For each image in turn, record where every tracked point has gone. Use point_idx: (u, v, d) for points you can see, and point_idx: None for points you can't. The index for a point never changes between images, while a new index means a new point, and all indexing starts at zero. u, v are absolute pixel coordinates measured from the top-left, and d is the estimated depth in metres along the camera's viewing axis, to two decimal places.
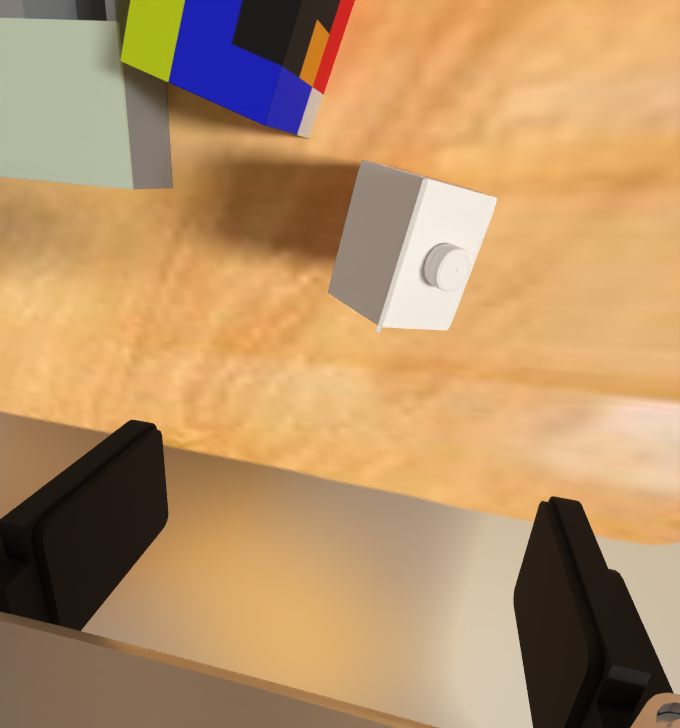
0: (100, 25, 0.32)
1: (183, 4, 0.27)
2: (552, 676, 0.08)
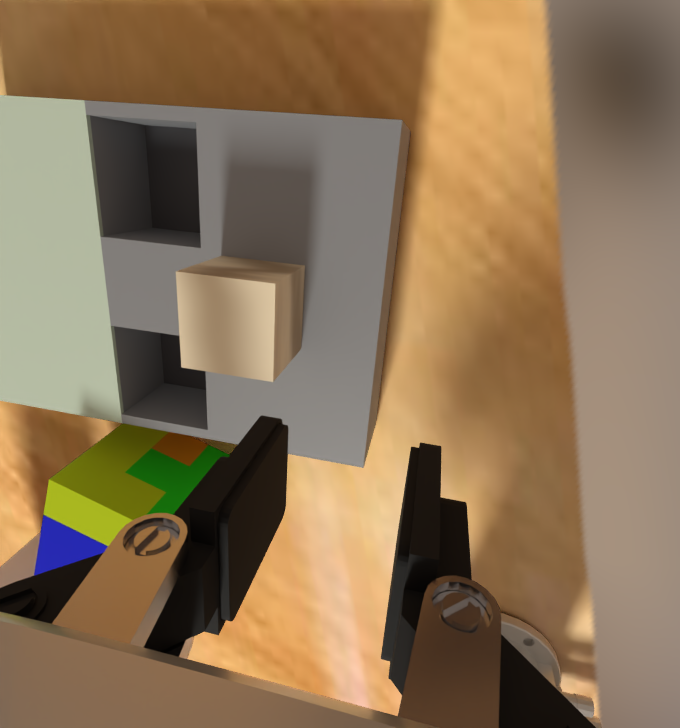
0: (116, 406, 0.33)
1: (97, 540, 0.32)
2: (392, 581, 0.10)
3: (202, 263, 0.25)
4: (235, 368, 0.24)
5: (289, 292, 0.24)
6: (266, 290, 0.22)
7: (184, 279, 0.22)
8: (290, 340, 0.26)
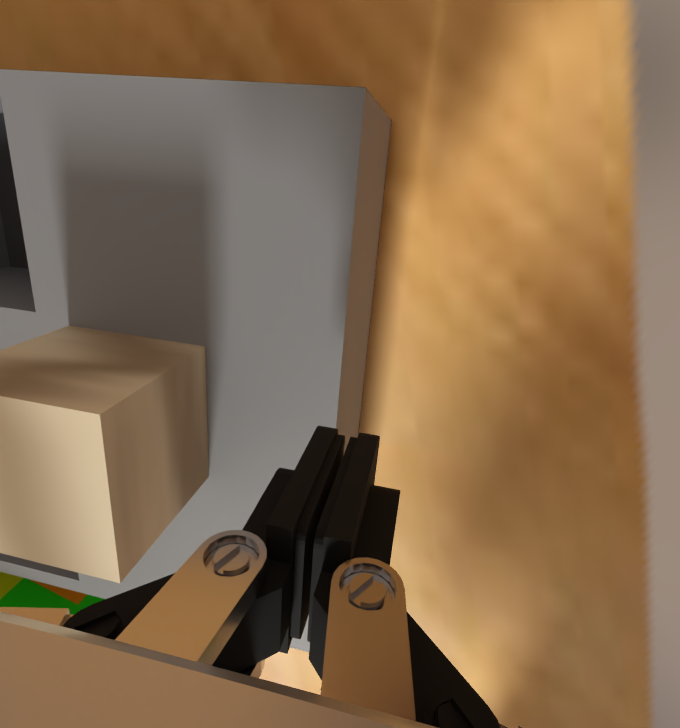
0: None
1: None
2: None
3: (7, 350, 0.14)
4: (51, 554, 0.13)
5: (157, 408, 0.13)
6: (85, 425, 0.11)
7: None
8: (174, 481, 0.14)
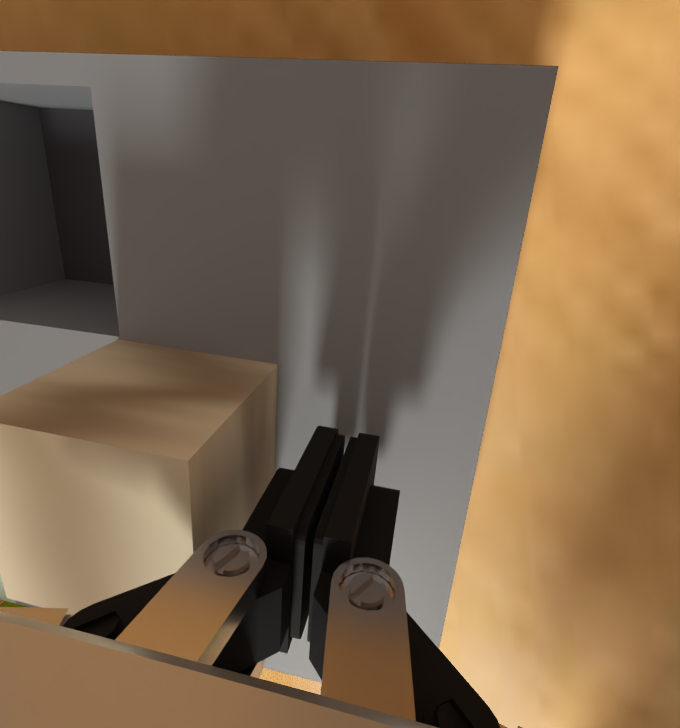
0: None
1: None
2: None
3: (56, 372, 0.12)
4: None
5: (236, 443, 0.11)
6: (168, 472, 0.09)
7: None
8: None
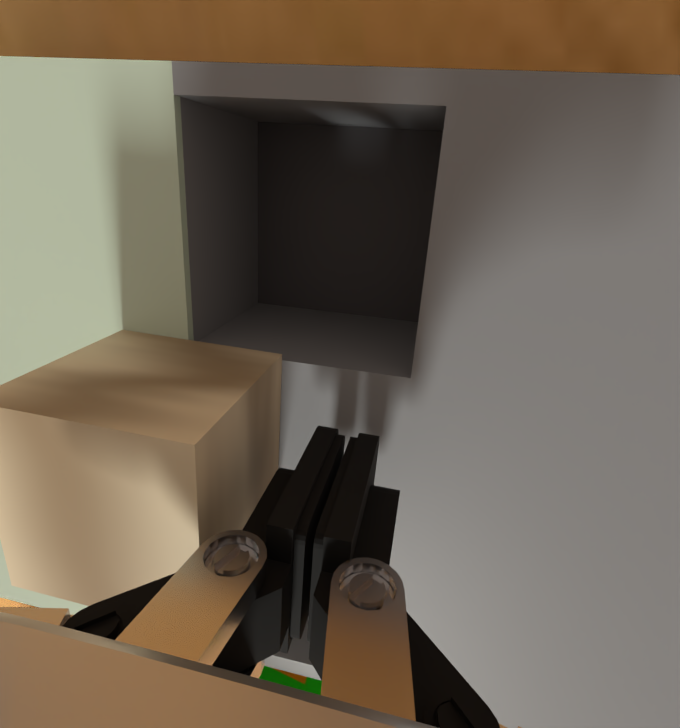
0: None
1: None
2: None
3: (62, 360, 0.12)
4: None
5: (241, 430, 0.11)
6: (175, 456, 0.09)
7: None
8: (251, 510, 0.13)
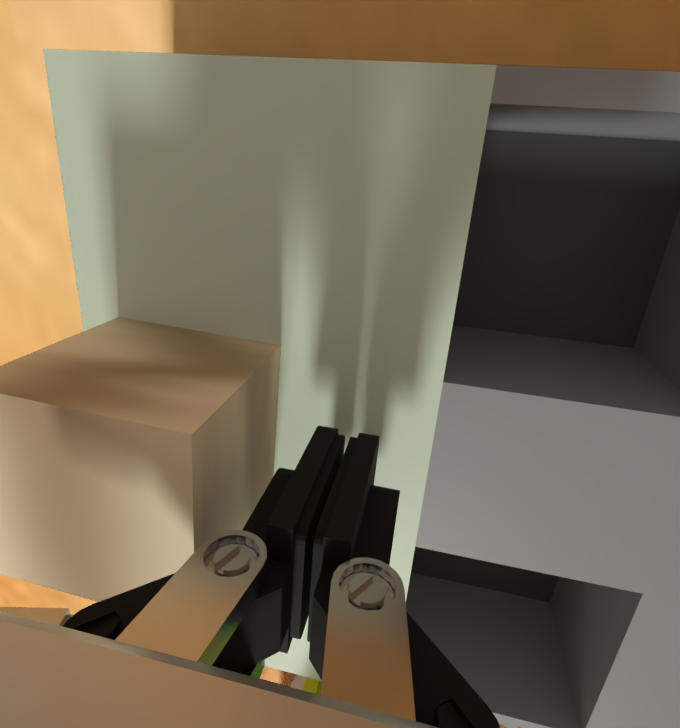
0: None
1: None
2: None
3: (56, 346, 0.11)
4: (112, 592, 0.11)
5: (238, 421, 0.11)
6: (171, 446, 0.09)
7: None
8: (246, 503, 0.12)
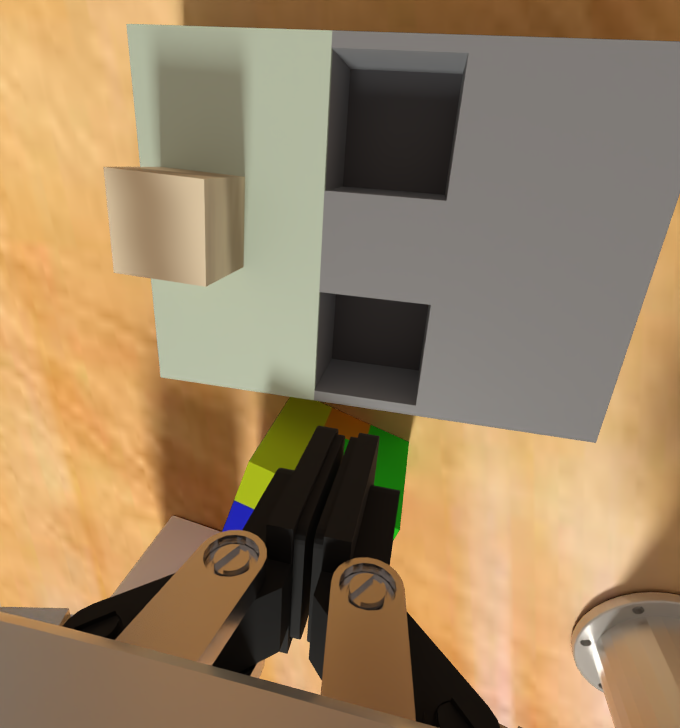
0: (310, 382, 0.30)
1: None
2: None
3: (136, 167, 0.24)
4: (168, 272, 0.23)
5: (223, 197, 0.24)
6: (195, 186, 0.21)
7: (112, 175, 0.22)
8: (228, 251, 0.25)
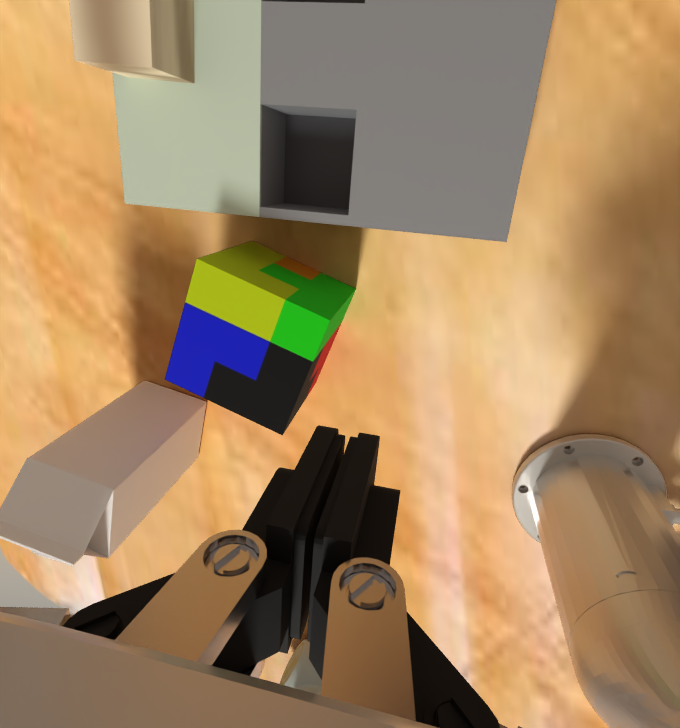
0: (255, 198, 0.33)
1: (238, 326, 0.33)
2: None
3: None
4: (120, 56, 0.27)
5: None
6: None
7: None
8: (176, 53, 0.29)
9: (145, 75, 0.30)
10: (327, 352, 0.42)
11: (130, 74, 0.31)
